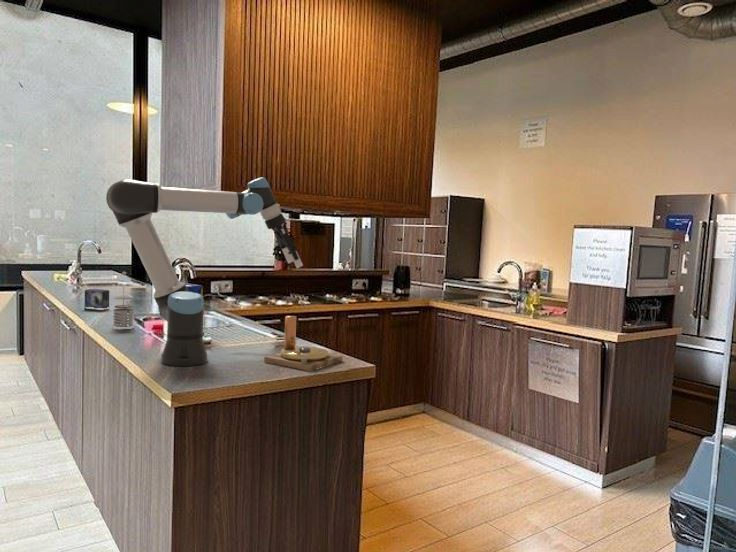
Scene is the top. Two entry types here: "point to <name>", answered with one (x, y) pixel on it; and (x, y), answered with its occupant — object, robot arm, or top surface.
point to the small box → (97, 298)
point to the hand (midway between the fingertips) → (295, 264)
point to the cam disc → (295, 352)
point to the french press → (123, 311)
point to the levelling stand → (302, 361)
